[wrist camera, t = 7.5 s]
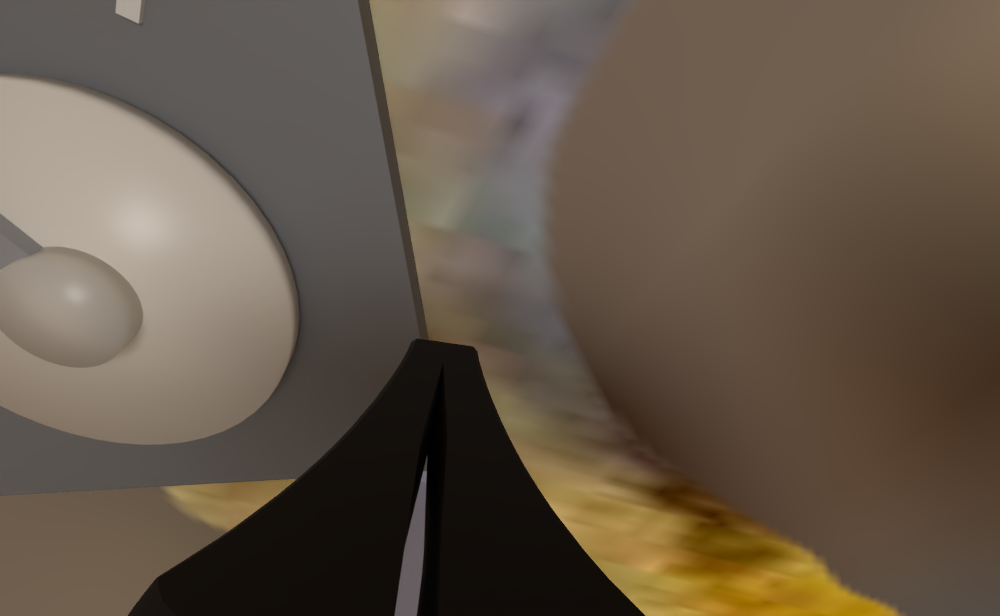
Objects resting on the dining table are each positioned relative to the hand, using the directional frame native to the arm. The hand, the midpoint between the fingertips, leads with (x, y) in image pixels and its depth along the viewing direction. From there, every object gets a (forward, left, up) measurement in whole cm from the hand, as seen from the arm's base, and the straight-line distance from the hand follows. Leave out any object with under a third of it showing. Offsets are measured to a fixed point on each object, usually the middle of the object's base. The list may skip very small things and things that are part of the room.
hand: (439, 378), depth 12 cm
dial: (0, +14, -8) cm, 16 cm away
